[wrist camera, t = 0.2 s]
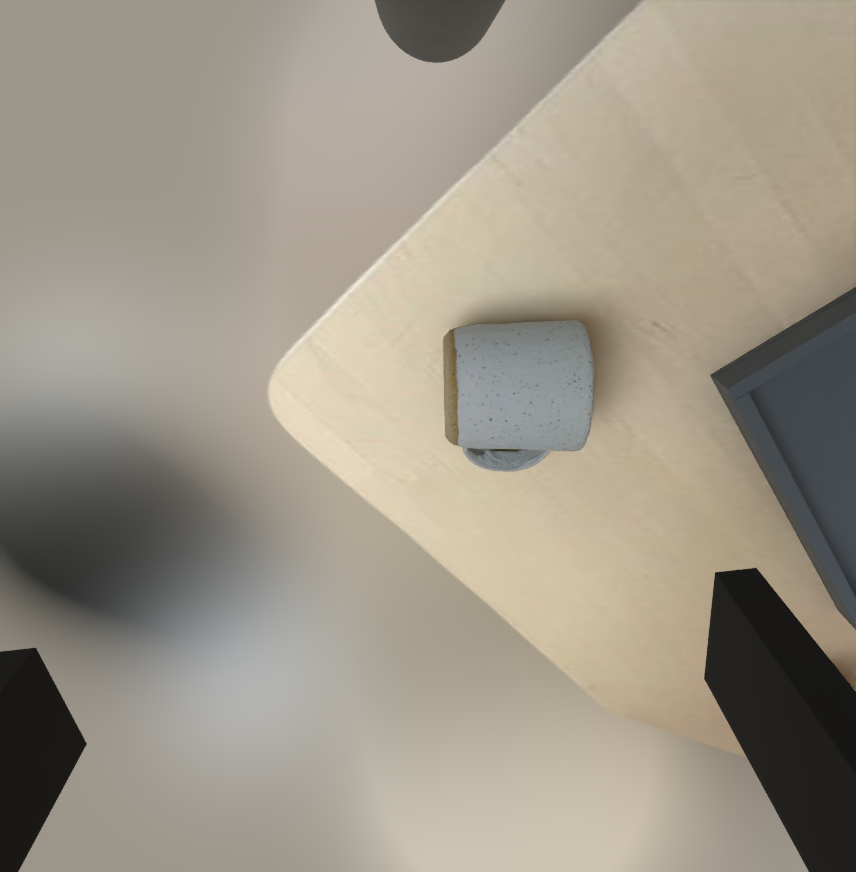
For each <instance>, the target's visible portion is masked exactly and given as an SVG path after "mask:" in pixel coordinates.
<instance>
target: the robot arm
mask: <svg viewBox="0 0 856 872" xmlns="http://www.w3.org/2000/svg"><path fill="white" fill-rule="evenodd" d="M704 679H705V681H706V683H707V684H708V686H709V688H710V690H711V692H712V694H713V696H714V697H715V699H716V701H717V703H718V705H719V707H720V708H721V710H722V712H723V714H724V716H725V718H726V719H727V721H728V723H729V725H730V727H731V729H732V731H733V732H734V734H735V736H736V738H737V740H738V742H739V743H740V745H741V747H742V749H743V751H744V753H745V755H746V756H747V758H748V760H749V762H750V764H751V765H752V767H753V769H754V771H755V773H756V775H757V776H758V778H759V780H760V782H761V784H762V786H763V788H764V790H765V791H766V793H767V795H768V797H769V799H770V800H771V802H772V804H773V806H774V808H775V810H776V812H777V813H778V815H779V817H780V819H781V821H782V823H783V825H784V826H785V828H786V830H787V832H788V834H789V836H790V838H791V839H792V841H793V843H794V845H795V847H796V849H797V850H798V852H799V854H800V856H801V858H802V860H803V861H804V863H805V865H806V867H807V869H808V871H809V872H856V692H855V690H854V689H853V688H852V687H851V685H850V684H849V683H848V682H847V680H846V679H845V678H844V677H843V675H842V674H841V673H840V672H839V670H838V669H837V668H836V667H835V665H834V664H833V663H832V662H831V660H830V659H829V658H828V657H827V655H826V654H825V653H824V652H823V651H822V649H821V648H820V647H819V646H818V644H817V643H816V642H815V641H814V639H813V638H812V637H811V636H810V634H809V633H808V632H807V631H806V629H805V628H804V627H803V626H802V624H801V623H800V622H799V621H798V619H797V618H796V617H795V616H794V614H793V613H792V612H791V611H790V609H789V608H788V607H787V606H786V604H785V603H784V602H783V601H782V599H781V598H780V597H779V596H778V594H777V593H776V592H775V591H774V589H773V588H772V587H771V586H770V584H769V583H768V582H767V581H766V579H765V578H764V577H763V576H762V575H761V573H760V572H759V571H758V570H757V568H752V569H743V570H734V571H725V572H716V573H715V579H714V589H713V599H712V608H711V618H710V628H709V638H708V647H707V657H706V667H705V677H704ZM86 744H87V743H86V742H85V740H84V738H83V736H82V734H81V732H80V730H79V728H78V726H77V725H76V723H75V721H74V719H73V717H72V715H71V713H70V711H69V710H68V708H67V706H66V704H65V702H64V700H63V698H62V696H61V695H60V693H59V691H58V689H57V687H56V685H55V683H54V681H53V680H52V677H51V676H50V674H49V672H48V670H47V668H46V666H45V664H44V663H43V661H42V659H41V657H40V655H39V653H38V651H37V649H36V648H30V649H21V650H12V651H3V652H0V872H18V871H19V869H20V867H21V865H22V864H23V862H24V860H25V858H26V856H27V854H28V852H29V850H30V849H31V847H32V845H33V843H34V841H35V839H36V837H37V836H38V834H39V832H40V830H41V828H42V826H43V824H44V823H45V821H46V819H47V817H48V815H49V813H50V811H51V809H52V808H53V806H54V804H55V802H56V800H57V798H58V796H59V795H60V793H61V791H62V789H63V787H64V785H65V783H66V781H67V780H68V778H69V776H70V774H71V772H72V770H73V768H74V767H75V765H76V763H77V761H78V759H79V757H80V755H81V753H82V752H83V750H84V748H85V746H86Z"/></svg>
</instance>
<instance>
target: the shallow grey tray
mask: <svg viewBox="0 0 856 872" xmlns="http://www.w3.org/2000/svg"><path fill="white" fill-rule="evenodd" d="M711 378H712V380H713V382H714V383H715V385H716V387H717V389H718V391H719V393H720V394H721V396H722V398H723V400H724V402H725V404H726V405H727V407H728V409H729V411H730V413H731V415H732V416H733V418H734V420H735V422H736V424H737V426H738V427H739V429H740V431H741V433H742V435H743V437H744V438H745V440H746V442H747V444H748V446H749V448H750V449H751V451H752V453H753V455H754V457H755V459H756V460H757V462H758V464H759V466H760V468H761V470H762V471H763V473H764V475H765V477H766V479H767V481H768V483H769V484H770V486H771V488H772V490H773V492H774V494H775V495H776V497H777V499H778V501H779V503H780V505H781V506H782V508H783V510H784V512H785V514H786V516H787V517H788V519H789V521H790V523H791V525H792V527H793V528H794V530H795V532H796V534H797V536H798V538H799V539H800V541H801V543H802V545H803V547H804V549H805V550H806V552H807V554H808V556H809V558H810V560H811V561H812V563H813V565H814V567H815V569H816V571H817V572H818V574H819V576H820V578H821V580H822V582H823V584H824V585H825V587H826V589H827V591H828V593H829V595H830V596H831V598H832V600H833V602H834V604H835V606H836V607H837V609H838V611H839V612H840V613H841V614H842V615H843V616H844V617H845V618H846V620H847V621H848V622H849V623H850V624H851V625H852V626H853V627H854V628H855V629H856V288H854V289H852V290H851V291H849V292H847V293H846V294H844V295H843V296H841V297H839V298H838V299H836V300H834V301H833V302H831V303H829V304H828V305H826V306H824V307H823V308H821V309H819V310H818V311H816V312H814V313H813V314H811V315H809V316H808V317H806V318H804V319H803V320H801V321H800V322H798V323H796V324H795V325H793V326H791V327H790V328H788V329H786V330H785V331H783V332H781V333H780V334H778V335H776V336H775V337H773V338H771V339H770V340H768V341H766V342H765V343H763V344H761V345H760V346H758V347H756V348H755V349H753V350H752V351H750V352H748V353H747V354H745V355H743V356H742V357H740V358H738V359H737V360H735V361H733V362H732V363H730V364H728V365H727V366H725V367H723V368H722V369H720V370H718V371H717V372H715V373H713V374H712V375H711Z"/></svg>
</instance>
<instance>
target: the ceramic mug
mask: <svg viewBox="0 0 856 872" xmlns="http://www.w3.org/2000/svg"><path fill="white" fill-rule="evenodd" d="M443 352H444V409H445V436H446V438H447V439H448V440H449V442H450V443H452V444H454V445H457V446H461V447H463V452H464V453H465V455H466V457H467V458H468V460H469V461H471V462H472V463H474V464H475V465H477V466H479V467H481V468H484V469H488V470H493V471H505V472H508V471H518V470H522V469H526V468H529V467H532V466H533V465H535V464H537V463H539V462H540V461H541V460H543V459H544V458H545V457H546V456H547V455H548V454H549V452H550V451H578V450H581V449H582V448H583V446H584V445H585V443H586V440H587V437H588V435H589V432H590V427H591V421H592V414H593V404H594V359H593V355H592V346H591V340H590V337H589V335H588V331H587V329H586V327H585V325H584V323H583V322H581V321H579V320H562V321H538V322H518V323H502V324H472V325H468V326H463V327H458V328H455V329H452V330H450V331H449V332H448V333H447V334H446V335H445V337H444V340H443ZM489 449H522V450H519V451H517V452H516V451H514V452H506V451H492V450H489Z"/></svg>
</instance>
